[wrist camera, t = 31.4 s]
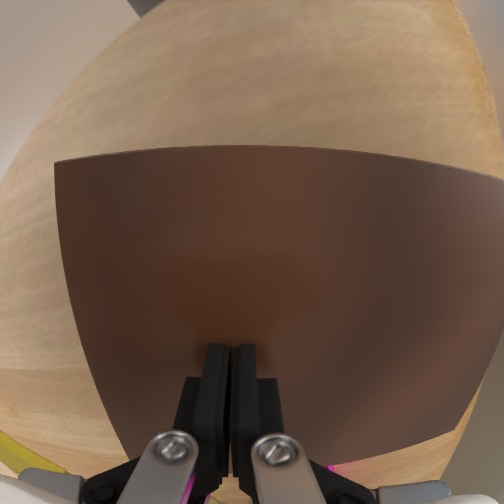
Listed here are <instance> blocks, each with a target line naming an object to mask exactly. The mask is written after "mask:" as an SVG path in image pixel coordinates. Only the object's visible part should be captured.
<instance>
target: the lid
mask: <svg viewBox="0 0 504 504" xmlns="http://www.w3.org/2000/svg"><path fill="white" fill-rule="evenodd" d="M54 176H55V198H56V212H57V222H58V232H59V240H60V247H61V254H62V261H63V267H64V272H65V278H66V283H67V288H68V293H69V297H70V302H71V306H72V310H73V314H74V318H75V322H76V326H77V329H78V333H79V336H80V340H81V343H82V347H83V350H84V353H85V356H86V359H87V362H88V365H89V368H90V371H91V374H92V377H93V379H94V382H95V385H96V387H97V390H98V393H99V395H100V398H101V400H102V403H103V405H104V407H105V410H106V412H107V414H108V417H109V419H110V421H111V423H112V426H113V428H114V430H115V432H116V434H117V436H118V438H119V440H120V442H121V444H122V446H123V448H124V450H125V452H126V454H127V456H128V458H129V460H130V461H131V460H133V459H135V458H138V457H140V456H142V454H143V452H144V450H145V449H146V447H147V445H148V443H149V441H150V440H151V439H152V437H153V436H155V435H156V434H157V433H159V432H162V431H165V430H172V428H173V424H174V420H175V416H176V412H177V408H178V405H179V401H180V397H181V393H182V390H183V386H184V382H185V379H186V377H187V376H188V377H201V376H202V372H203V367H204V362H205V357H206V352H207V348H208V343H224V347H229V348H230V367H231V387H232V372H233V357H234V347H240V344H255V352H256V374H257V378H277V381H278V388H279V395H280V402H281V410H282V417H283V424H284V432H285V434H289V435H291V436H293V437H295V438H296V439H297V440H299V441H300V443H301V444H302V446H303V448H304V450H305V453H306V455H307V458H308V459H310V460H312V461H314V462H315V463H317V464H319V465H321V466H323V467H324V466H331V465H337V464H342V463H347V462H352V461H357V460H361V459H366V458H370V457H374V456H378V455H382V454H386V453H389V452H393V451H396V450H400V449H403V448H406V447H409V446H412V445H415V444H418V443H421V442H424V441H427V440H430V439H432V438H435V437H437V436H440V435H443V434H445V433H447V432H450V431H452V430H454V429H455V428H456V426H457V425H458V423H459V421H460V420H461V418H462V416H463V415H464V413H465V411H466V409H467V408H468V406H469V404H470V402H471V400H472V398H473V397H474V395H475V393H476V391H477V389H478V387H479V385H480V383H481V381H482V379H483V377H484V375H485V372H486V370H487V368H488V366H489V363H490V361H491V359H492V356H493V354H494V352H495V349H496V347H497V344H498V341H499V339H500V336H501V333H502V331H503V328H504V179H501V178H498V177H494V176H490V175H486V174H482V173H478V172H474V171H470V170H466V169H462V168H457V167H452V166H448V165H443V164H438V163H433V162H427V161H422V160H416V159H410V158H404V157H397V156H390V155H383V154H375V153H367V152H359V151H349V150H339V149H327V148H313V147H295V146H268V145H215V146H188V147H171V148H157V149H145V150H135V151H125V152H117V153H109V154H101V155H94V156H87V157H81V158H75V159H69V160H63V161H58V162H55V163H54ZM229 473H233V468H232V457H231V445H230V455H229Z"/></svg>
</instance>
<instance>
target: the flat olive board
mask: <svg viewBox="0 0 504 504" xmlns="http://www.w3.org/2000/svg"><path fill="white" fill-rule="evenodd" d="M0 461H1V462H2V463H4V464H5V465H6V466H8V467H9V468H11V469H12V470H14V471H15V472H17V473H18V474H20V473H21V472H22V471H23V470H24V469H27V468H30V467H31V468H39V469H44V470H48V471H54V472H59V473H65V474H67V472H66V470H65V469H63V468H61V467H59V466H57V465H55V464H53V463H51V462H49V461H47V460H46V459H44V458H42V457H40V456H39V455H37V454H35V453H33V452H32V451H30V450H28V449H27V448H25V447H23V446H22V445H20V444H19V443H17V442H16V441H14V440H13V439H11V438H10V437H8V436H7V435H5V434H4V433H2V432H1V431H0Z"/></svg>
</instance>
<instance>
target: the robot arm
mask: <svg viewBox="0 0 504 504" xmlns="http://www.w3.org/2000/svg"><path fill="white" fill-rule="evenodd" d="M230 445H231V457H232V468H233V477H239V489H241V490H242V491H243V492H245V493H246V494H247V495H249V496H250V497H251V504H499V503H498V502H496V501H495V500H494V499H492V498H491V497H489V496H485V495H480V494H479V495H478V494H477V495H476V494H468V495H458V496H451V492H450V489H449V487H448V486H447V485H446V484H445V483H444V482H441V481H438V480H430V481H424V482H418V483H410V484H402V485H392V486H379V487H378V488H377V489H367V488H365V487H364V486H362V485H360V484H357V483H355V482H353V481H351V480H349V479H347V478H345V477H343V476H341V475H338V474H336V473H334V472H333V471H331V470H329V469H327V468H325V467H323V466H321V465H319V464H317V463H315V462H314V461H312V460H310V459H308V458H307V455H306V453H305V450H304V448H303V446H302V444H301V443H300V441H299V440H297V439H296V438H295V437H293V436H291V435H289V434H285V432H284V424H283V417H282V410H281V402H280V395H279V388H278V381H277V378H257V374H256V352H255V344H240V347H234V357H233V372H232V387H231V367H230V348H229V347H224V343H208V348H207V352H206V357H205V362H204V367H203V372H202V376H201V377H188V376H187V377H186V379H185V382H184V386H183V390H182V393H181V397H180V401H179V405H178V408H177V412H176V416H175V420H174V424H173V428H172V430H165V431H162V432H159V433H157V434H156V435H155V436H153V437H152V439H151V440H150V441H149V443H148V445H147V447H146V449H145V450H144V452H143V454H142V456H140V457H138V458H135V459H133V460H131V461H129V462H126V463H124V464H122V465H120V466H117V467H115V468H113V469H110V470H108V471H105V472H103V473H100V474H98V475H95V476H93V477H91V478H89V479H84V478H83V477H82V476H79V475H72V474H65V473H59V472H54V471H48V470H44V469H39V468H31V467H30V468H27V469H24V470H23V471H22V472H21V473H20V474H19V476H18V479H16V478H13V477H10V476H5V475H1V474H0V504H208V502H209V498H210V493H212V492H213V491H215V490H217V489H218V488H219V484H220V485H222V477H228V475H229V455H230Z"/></svg>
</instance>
